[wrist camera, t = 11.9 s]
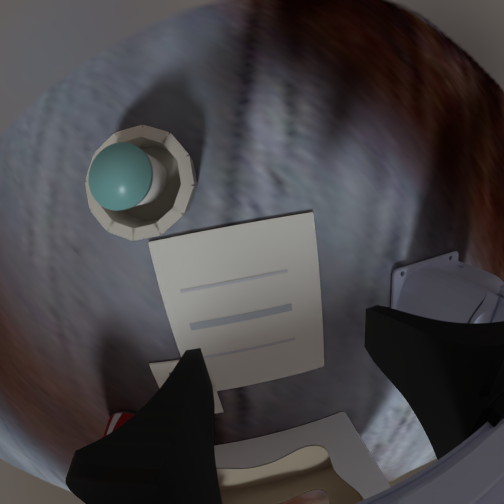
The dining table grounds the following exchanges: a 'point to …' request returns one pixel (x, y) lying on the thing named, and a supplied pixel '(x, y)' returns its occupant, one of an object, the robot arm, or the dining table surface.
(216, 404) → the word card
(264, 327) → the paper
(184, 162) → the pen cup
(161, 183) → the marker
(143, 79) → the dining table surface
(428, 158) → the dining table surface
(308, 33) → the dining table surface
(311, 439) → the gable box
